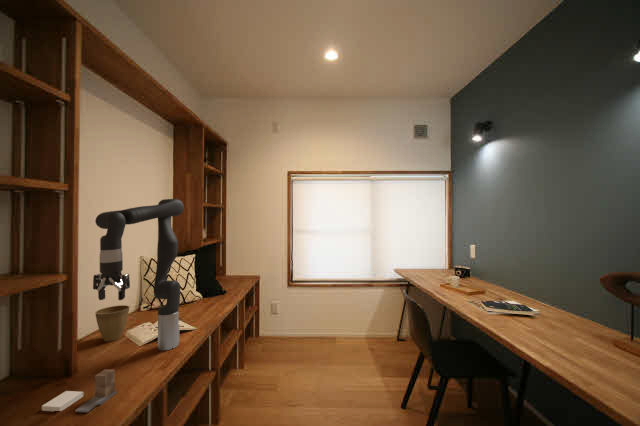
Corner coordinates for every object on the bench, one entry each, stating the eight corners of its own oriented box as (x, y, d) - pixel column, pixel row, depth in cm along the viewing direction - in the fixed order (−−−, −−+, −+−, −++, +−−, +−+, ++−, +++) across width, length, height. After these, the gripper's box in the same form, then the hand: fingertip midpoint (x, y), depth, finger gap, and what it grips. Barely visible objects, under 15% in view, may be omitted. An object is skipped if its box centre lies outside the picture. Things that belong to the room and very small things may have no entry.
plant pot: (130, 339, 147) (130, 309, 147) (95, 347, 137) (94, 316, 138) (128, 330, 158) (128, 303, 159) (95, 337, 149) (95, 308, 149)
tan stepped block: (104, 390, 102) (104, 369, 102) (115, 391, 101) (115, 369, 101) (75, 411, 91) (75, 387, 91) (87, 412, 90) (87, 388, 90)
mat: (102, 391, 102) (102, 390, 102) (117, 392, 101) (117, 391, 101) (84, 404, 95) (84, 403, 95) (100, 405, 94) (100, 404, 94)
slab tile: (66, 390, 100) (41, 405, 92) (83, 391, 99) (60, 407, 91) (66, 396, 100) (41, 411, 92) (83, 397, 99) (60, 412, 91)
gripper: (134, 258, 115) (134, 297, 115) (103, 258, 116) (103, 296, 116) (119, 261, 107) (120, 302, 107) (86, 261, 109) (87, 302, 108)
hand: (111, 299), depth 111 cm, fingers open, 8 cm apart
